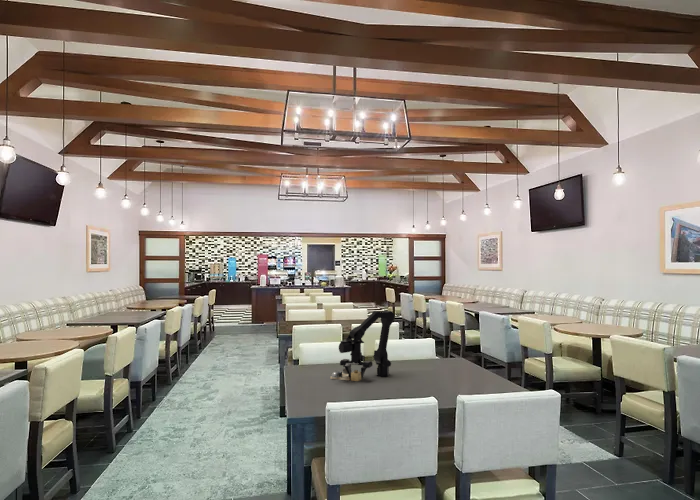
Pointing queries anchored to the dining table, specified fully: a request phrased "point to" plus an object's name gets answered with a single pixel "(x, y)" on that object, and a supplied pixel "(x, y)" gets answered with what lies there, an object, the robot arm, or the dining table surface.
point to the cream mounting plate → (343, 375)
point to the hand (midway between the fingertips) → (356, 378)
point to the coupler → (355, 375)
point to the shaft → (336, 374)
